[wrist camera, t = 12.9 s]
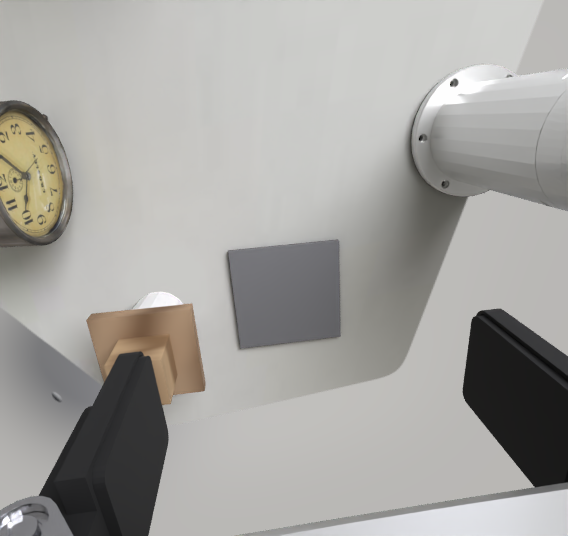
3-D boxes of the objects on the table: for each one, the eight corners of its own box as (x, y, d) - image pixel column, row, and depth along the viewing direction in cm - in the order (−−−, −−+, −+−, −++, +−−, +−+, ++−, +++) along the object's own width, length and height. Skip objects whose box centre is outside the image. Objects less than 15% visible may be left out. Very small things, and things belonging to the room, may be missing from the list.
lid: (192, 303, 35) (184, 332, 30) (205, 383, 38) (200, 420, 34) (91, 313, 34) (67, 345, 30) (113, 394, 38) (95, 434, 33)
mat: (337, 239, 42) (339, 241, 41) (339, 333, 46) (340, 336, 46) (228, 250, 41) (228, 252, 40) (240, 345, 45) (240, 348, 45)
